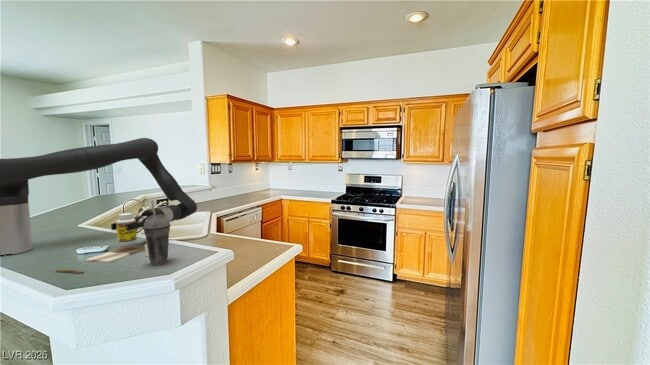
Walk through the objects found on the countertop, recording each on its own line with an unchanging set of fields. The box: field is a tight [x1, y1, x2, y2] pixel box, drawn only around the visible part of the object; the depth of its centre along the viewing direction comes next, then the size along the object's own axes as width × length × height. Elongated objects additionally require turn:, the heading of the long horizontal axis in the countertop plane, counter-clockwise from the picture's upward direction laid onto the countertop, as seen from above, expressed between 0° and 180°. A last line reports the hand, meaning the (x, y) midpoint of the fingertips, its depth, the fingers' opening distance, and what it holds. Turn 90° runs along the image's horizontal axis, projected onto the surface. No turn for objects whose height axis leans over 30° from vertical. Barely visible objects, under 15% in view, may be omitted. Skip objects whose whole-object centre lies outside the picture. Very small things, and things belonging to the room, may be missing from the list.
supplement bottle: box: [115, 212, 138, 245], centre depth 95 cm, size 6×6×10 cm
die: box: [144, 243, 149, 257], centre depth 92 cm, size 4×4×4 cm
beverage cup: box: [142, 200, 171, 267], centre depth 83 cm, size 7×7×20 cm
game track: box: [55, 245, 145, 275], centre depth 88 cm, size 9×22×1 cm, turn 170°
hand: (119, 227), depth 92 cm, fingers closed on supplement bottle, 5 cm apart
